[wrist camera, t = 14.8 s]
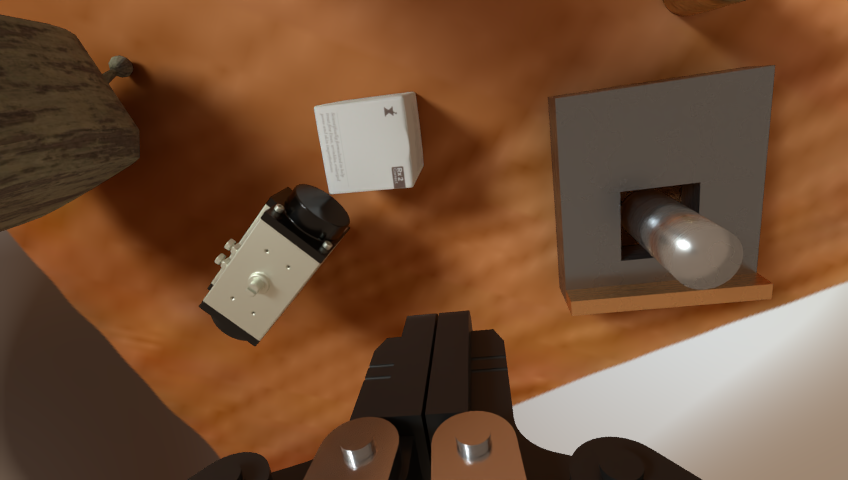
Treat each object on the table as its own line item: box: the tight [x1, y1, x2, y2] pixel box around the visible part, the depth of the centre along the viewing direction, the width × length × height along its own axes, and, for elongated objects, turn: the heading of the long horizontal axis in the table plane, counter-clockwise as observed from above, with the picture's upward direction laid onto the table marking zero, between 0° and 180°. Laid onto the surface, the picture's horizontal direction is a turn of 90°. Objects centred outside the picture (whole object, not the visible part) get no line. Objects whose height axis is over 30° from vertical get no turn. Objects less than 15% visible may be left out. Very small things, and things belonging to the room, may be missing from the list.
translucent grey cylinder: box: [620, 188, 743, 290], centre depth 31 cm, size 4×4×10 cm
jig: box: [548, 65, 775, 316], centre depth 33 cm, size 16×14×5 cm
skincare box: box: [314, 92, 424, 194], centre depth 33 cm, size 6×6×7 cm
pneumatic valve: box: [199, 184, 350, 346], centre depth 34 cm, size 6×12×12 cm, turn 141°
